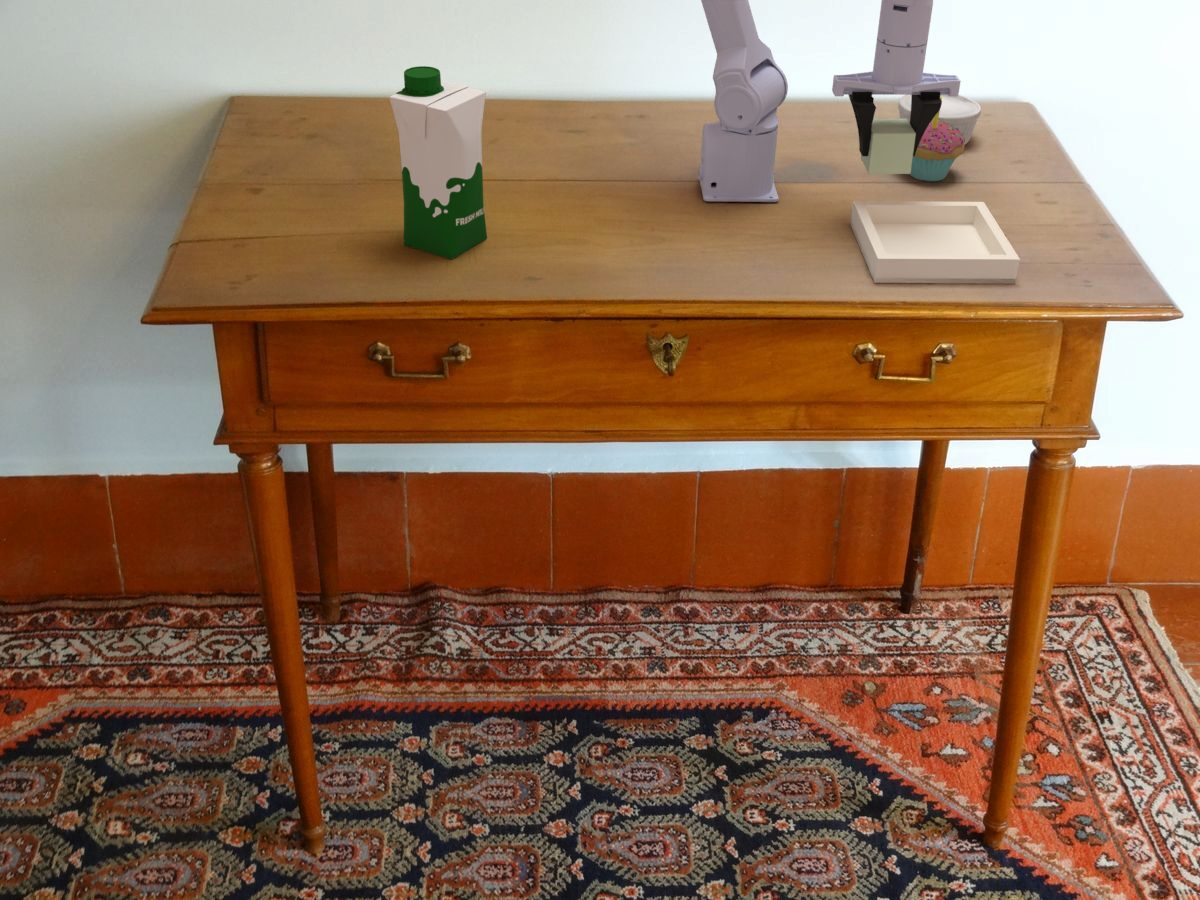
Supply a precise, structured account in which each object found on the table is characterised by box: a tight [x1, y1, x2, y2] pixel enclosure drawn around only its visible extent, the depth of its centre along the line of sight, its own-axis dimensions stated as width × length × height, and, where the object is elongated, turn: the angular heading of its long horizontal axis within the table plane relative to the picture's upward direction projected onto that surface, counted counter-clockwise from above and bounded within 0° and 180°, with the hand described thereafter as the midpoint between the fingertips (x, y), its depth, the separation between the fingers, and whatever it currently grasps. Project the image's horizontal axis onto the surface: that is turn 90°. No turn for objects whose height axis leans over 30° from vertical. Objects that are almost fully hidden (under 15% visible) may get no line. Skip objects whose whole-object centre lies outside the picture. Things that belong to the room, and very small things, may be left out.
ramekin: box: [897, 94, 982, 146], centre depth 189 cm, size 11×11×5 cm
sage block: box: [860, 118, 916, 175], centre depth 162 cm, size 5×5×5 cm
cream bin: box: [849, 200, 1021, 285], centre depth 158 cm, size 16×16×3 cm
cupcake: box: [909, 95, 965, 182], centre depth 176 cm, size 9×8×12 cm
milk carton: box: [389, 65, 488, 260], centre depth 154 cm, size 9×9×20 cm
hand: (886, 153), depth 162 cm, fingers closed on sage block, 5 cm apart
